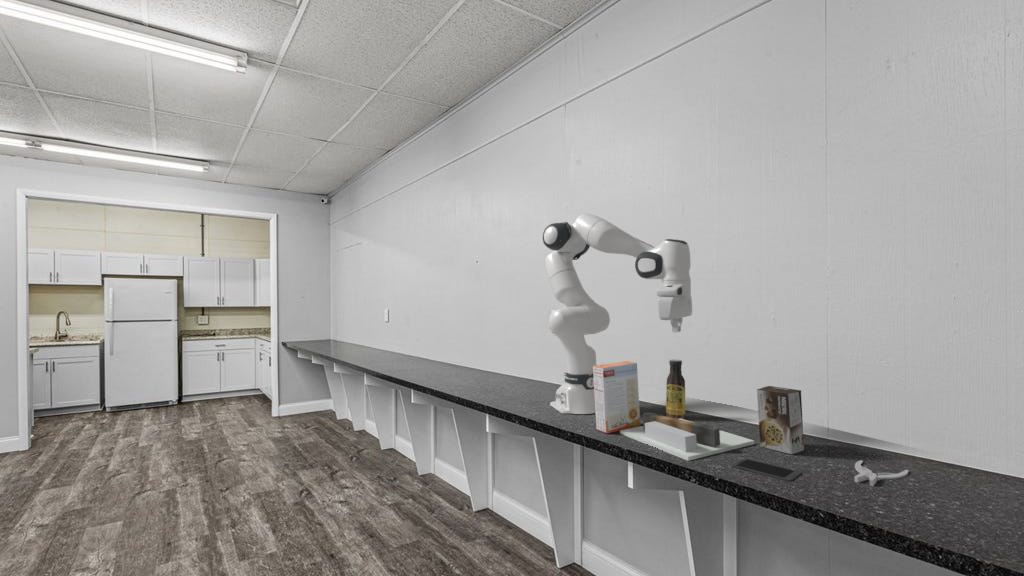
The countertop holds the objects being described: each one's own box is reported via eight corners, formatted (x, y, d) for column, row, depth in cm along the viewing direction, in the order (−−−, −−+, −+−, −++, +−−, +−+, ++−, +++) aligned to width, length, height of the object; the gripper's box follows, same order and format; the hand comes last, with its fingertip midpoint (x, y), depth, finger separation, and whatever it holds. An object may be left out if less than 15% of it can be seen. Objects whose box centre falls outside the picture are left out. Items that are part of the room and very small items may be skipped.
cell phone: (790, 483, 110) (790, 480, 110) (730, 467, 120) (729, 464, 120) (803, 475, 114) (802, 471, 114) (743, 460, 125) (743, 457, 125)
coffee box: (805, 450, 130) (802, 390, 130) (791, 455, 126) (788, 393, 126) (772, 441, 137) (769, 385, 137) (758, 446, 134) (756, 388, 134)
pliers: (909, 466, 113) (890, 484, 103) (909, 473, 113) (891, 492, 103) (859, 456, 120) (837, 472, 111) (859, 462, 120) (838, 479, 111)
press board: (620, 433, 151) (619, 417, 151) (680, 421, 161) (680, 406, 161) (688, 460, 125) (687, 441, 125) (754, 444, 136) (753, 426, 136)
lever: (640, 428, 150) (640, 414, 150) (649, 426, 153) (649, 411, 153) (713, 447, 130) (712, 430, 130) (722, 443, 133) (721, 427, 133)
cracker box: (628, 422, 162) (626, 360, 162) (641, 427, 157) (638, 362, 157) (594, 429, 156) (592, 364, 156) (606, 434, 151) (603, 367, 151)
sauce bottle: (664, 419, 165) (661, 360, 165) (669, 414, 170) (666, 358, 170) (683, 421, 161) (681, 361, 161) (688, 416, 167) (686, 359, 167)
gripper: (678, 288, 166) (678, 328, 166) (654, 290, 150) (654, 334, 150) (696, 288, 162) (697, 329, 162) (674, 290, 146) (674, 336, 146)
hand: (676, 332), depth 156 cm, fingers closed
